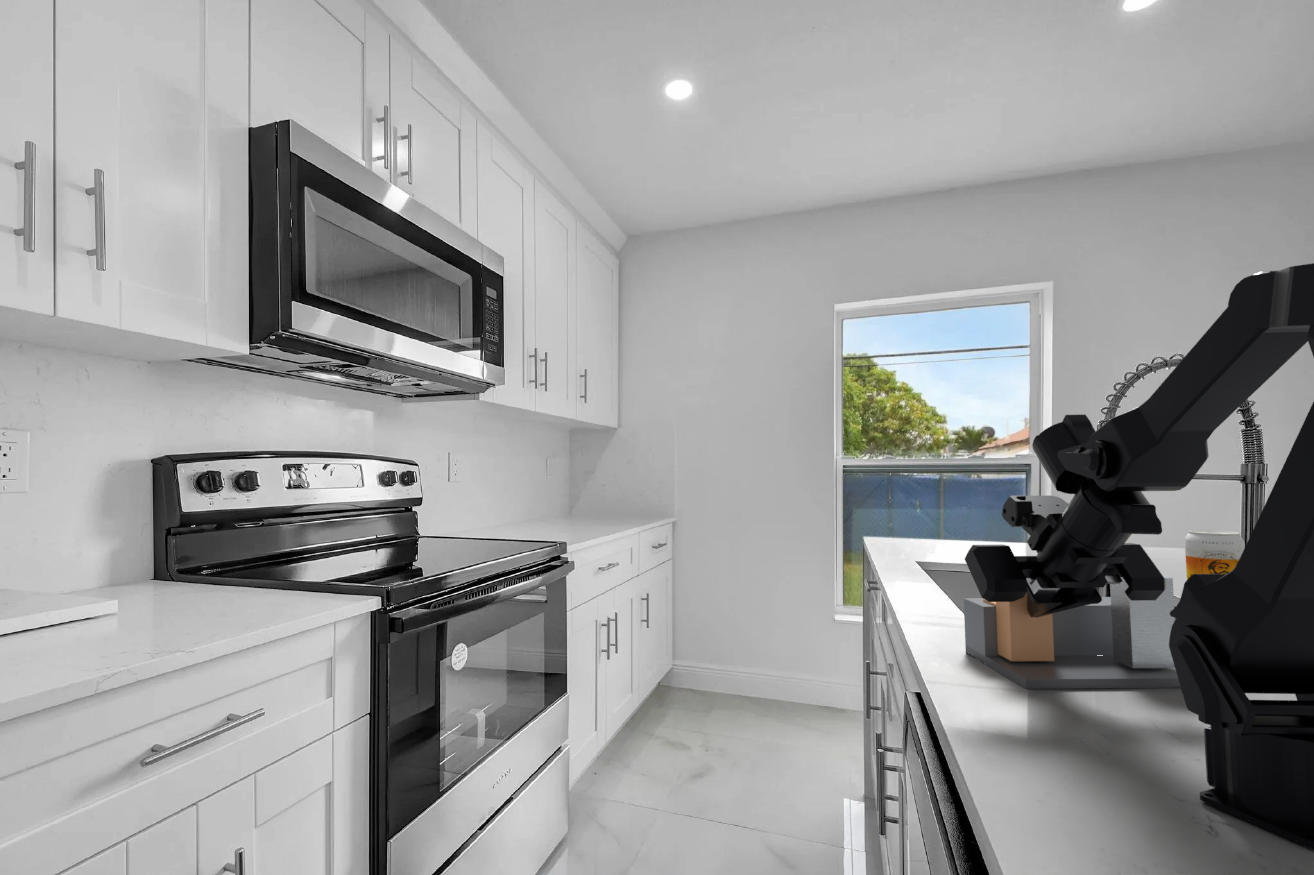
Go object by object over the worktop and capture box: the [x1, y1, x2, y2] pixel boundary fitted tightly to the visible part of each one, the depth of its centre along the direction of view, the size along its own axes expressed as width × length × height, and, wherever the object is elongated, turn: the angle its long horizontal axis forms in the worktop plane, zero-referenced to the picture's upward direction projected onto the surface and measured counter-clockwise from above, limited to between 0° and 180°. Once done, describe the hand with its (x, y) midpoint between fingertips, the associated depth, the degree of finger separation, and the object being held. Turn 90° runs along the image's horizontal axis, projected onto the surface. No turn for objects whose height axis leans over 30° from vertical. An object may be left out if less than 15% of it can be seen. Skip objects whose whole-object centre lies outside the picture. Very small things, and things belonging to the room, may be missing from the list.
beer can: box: [1184, 529, 1246, 581], centre depth 85 cm, size 6×6×15 cm
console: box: [963, 596, 1181, 690], centre depth 75 cm, size 14×20×7 cm
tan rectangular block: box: [996, 593, 1054, 661], centre depth 75 cm, size 3×5×10 cm, turn 90°
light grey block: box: [1109, 575, 1176, 668], centre depth 72 cm, size 3×5×10 cm, turn 89°
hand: (1032, 613), depth 73 cm, fingers closed, pressing on tan rectangular block
